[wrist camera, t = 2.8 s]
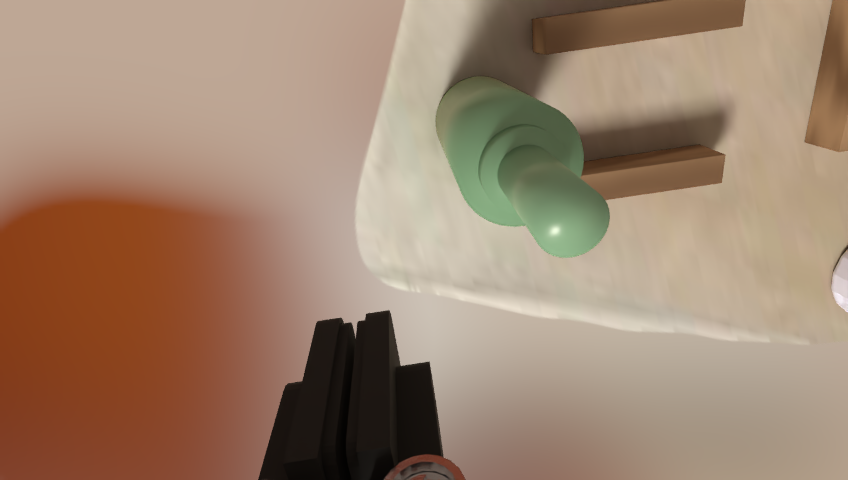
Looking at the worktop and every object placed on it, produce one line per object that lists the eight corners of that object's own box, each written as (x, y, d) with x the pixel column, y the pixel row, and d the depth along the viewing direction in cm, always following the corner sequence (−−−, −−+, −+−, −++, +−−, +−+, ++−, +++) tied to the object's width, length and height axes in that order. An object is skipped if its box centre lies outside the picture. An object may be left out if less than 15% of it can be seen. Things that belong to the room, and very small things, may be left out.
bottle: (430, 82, 32) (475, 148, 15) (519, 70, 32) (666, 120, 15) (440, 168, 35) (489, 310, 17) (523, 157, 35) (654, 287, 17)
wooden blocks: (532, 19, 31) (545, 18, 28) (868, -30, 31) (914, -36, 28) (538, 194, 36) (550, 208, 33) (828, 151, 36) (864, 161, 33)
